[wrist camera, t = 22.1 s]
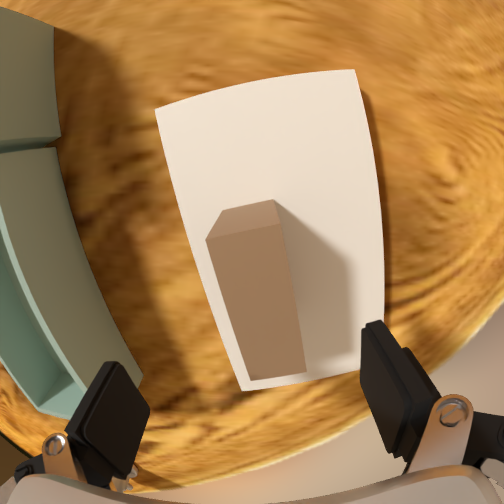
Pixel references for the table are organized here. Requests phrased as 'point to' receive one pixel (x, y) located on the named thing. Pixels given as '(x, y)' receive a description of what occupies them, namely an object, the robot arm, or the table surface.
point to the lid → (281, 220)
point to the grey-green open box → (44, 240)
